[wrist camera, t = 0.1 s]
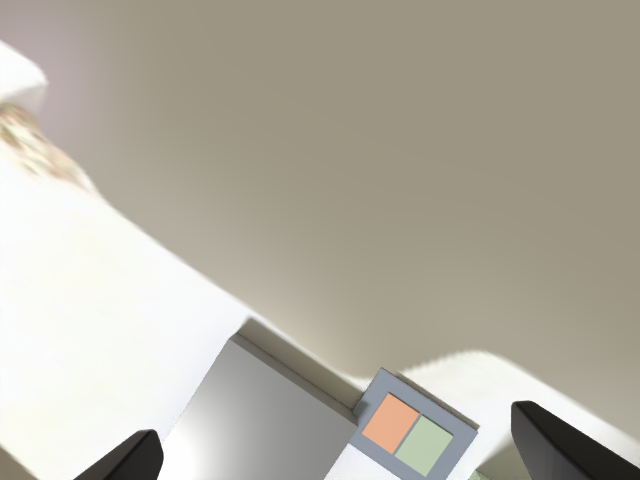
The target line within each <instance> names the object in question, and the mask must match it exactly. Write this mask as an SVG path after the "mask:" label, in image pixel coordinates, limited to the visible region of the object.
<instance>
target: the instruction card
mask: <svg viewBox="0 0 640 480" xmlns="http://www.w3.org/2000/svg"><path fill="white" fill-rule="evenodd" d="M352 414H354V415H355V416H357V417H358V429H357V430H356V432H355V433H354V435H353V436H352V438H351V439H350V441H349V442H348V443H349V444H351V445H352V446H354V447H355V448H357V449H358V450H359V451H361V452H362V453H364V454H365V455H367V456H368V457H370V458H371V459H373V460H374V461H375V462H377V463H378V464H380V465H381V466H383V467H384V468H386V469H387V470H389V471H390V472H391V473H393V474H394V475H396V476H397V477H399V478H400V479H402V480H446V478H447V477H448V475H449V474H450V473H451V471H452V470H453V468H454V467H455V465H456V464H457V463H458V461H459V460H460V458H461V457H462V455H463V454H464V453H465V451H466V450H467V448H468V447H469V445H470V444H471V443H472V441H473V440H474V438H475V437H476V435H477V434H478V431H477V430H476V429H474V428H473V427H471V426H470V425H468V424H467V423H465V422H464V421H462V420H461V419H459V418H458V417H456V416H455V415H453V414H452V413H450V412H449V411H447V410H446V409H444V408H443V407H441V406H440V405H438V404H437V403H435V402H434V401H432V400H431V399H429V398H427V397H426V396H424V395H423V394H421V393H420V392H418V391H417V390H415V389H414V388H412V387H411V386H409V385H408V384H406V383H405V382H403V381H402V380H400V379H399V378H397V377H396V376H394V375H393V374H391V373H390V372H388V371H386V370H385V369H384V368H381V369H380V370H379V372H378V373H377V375H376V376H375V378H374V379H373V381H372V382H371V384H370V385H369V387H368V388H367V390H366V391H365V393H364V394H363V396H362V397H361V399H360V400H359V402H358V403H357V405H356V406H355V408H354V409H353V411H352Z"/></svg>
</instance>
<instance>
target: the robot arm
mask: <svg viewBox="0 0 640 480" xmlns="http://www.w3.org/2000/svg"><path fill="white" fill-rule="evenodd" d="M511 432H512V436H513V439H514V442H515V444H516V446H517V448H518V450H519V452H520V455H521V457H522V459H523V461H524V463H525V465H526V467H527V470H528V472H529V474H530V476H531V478H532V480H640V468H638V467H636V466H635V465H633V464H632V463H630V462H628V461H627V460H625V459H624V458H622V457H620V456H619V455H617V454H616V453H614V452H612V451H611V450H609V449H608V448H606V447H604V446H603V445H601V444H600V443H598V442H597V441H595V440H593V439H592V438H590V437H589V436H587V435H585V434H584V433H582V432H581V431H579V430H577V429H576V428H574V427H573V426H571V425H569V424H568V423H566V422H565V421H563V420H561V419H560V418H558V417H557V416H555V415H554V414H552V413H550V412H549V411H547V410H546V409H544V408H542V407H541V406H539V405H538V404H536V403H534V402H532V401H515V402H513V403H512V406H511ZM163 461H164V452H163V449H162V446H161V443H160V440H159V437H158V434H157V432H156V431H155V430H153V429H148V430H140V431H137V432H136V433H134V434H133V435H132V436H130V437H129V438H128V439H126V440H125V441H124V442H122V443H121V444H120V445H118V446H117V447H116V448H114V449H113V450H112V451H110V452H109V453H108V454H106V455H105V456H104V457H103V458H101V459H100V460H99V461H97V462H96V463H95V464H93V465H92V466H91V467H89V468H88V469H87V470H85V471H84V472H83V473H81V474H80V475H79V476H77V477H76V478H75V479H73V480H157V479H158V476H159V474H160V471H161V468H162V465H163Z"/></svg>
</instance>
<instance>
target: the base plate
mask: <svg viewBox="0 0 640 480" xmlns="http://www.w3.org/2000/svg"><path fill="white" fill-rule="evenodd" d="M357 429H358V417H357V416H355V415H354V414H352V411H351V410H350V409H348V408H347V407H345V406H344V405H342V404H341V403H339V402H338V401H336V400H335V399H333V398H332V397H331V396H329V395H328V394H326V393H325V392H323V391H322V390H320V389H319V388H317V387H316V386H314V385H313V384H311V383H310V382H308V381H307V380H305V379H304V378H303V377H301V376H300V375H298V374H297V373H295V372H294V371H292V370H291V369H289V368H288V367H286V366H285V365H283V364H282V363H280V362H279V361H277V360H276V359H275V358H273V357H272V356H270V355H269V354H267V353H266V352H264V351H263V350H261V349H260V348H258V347H257V346H255V345H254V344H252V343H251V342H249V341H248V340H247V339H245V338H244V337H242V336H241V335H239V334H238V333H235V334H234V335H233V336H231V337H230V338H229V339H228V341H227V342H226V344H225V345H224V347H223V349H222V350H221V352H220V353H219V355H218V357H217V358H216V360H215V361H214V363H213V365H212V366H211V368H210V369H209V371H208V373H207V374H206V376H205V377H204V379H203V381H202V382H201V384H200V385H199V387H198V388H197V390H196V392H195V393H194V395H193V396H192V398H191V400H190V401H189V403H188V404H187V406H186V408H185V409H184V411H183V412H182V414H181V416H180V417H179V419H178V420H177V422H176V424H175V425H174V427H173V428H172V430H171V432H170V433H169V435H168V436H167V438H166V440H165V441H164V443H163V444H162V449H163V452H164V461H163V465H162V468H161V471H160V474H159V476H158V479H157V480H324V478H325V477H326V475H327V474H328V472H329V471H330V469H331V468H332V466H333V465H334V463H335V462H336V460H337V459H338V457H339V456H340V454H341V453H342V451H343V450H344V448H345V447H346V445H347V444H348V442H349V441H350V439H351V438H352V436H353V435H354V433H355V432H356V430H357Z"/></svg>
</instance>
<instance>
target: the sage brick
mask: <svg viewBox="0 0 640 480" xmlns="http://www.w3.org/2000/svg"><path fill="white" fill-rule="evenodd" d="M468 480H490V479H488V478H487V477H485V476H484V475H482V474H481V473H479V472H478V471H476V470H474V472H473V473H472V475H471V476H470V478H469V479H468Z"/></svg>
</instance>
